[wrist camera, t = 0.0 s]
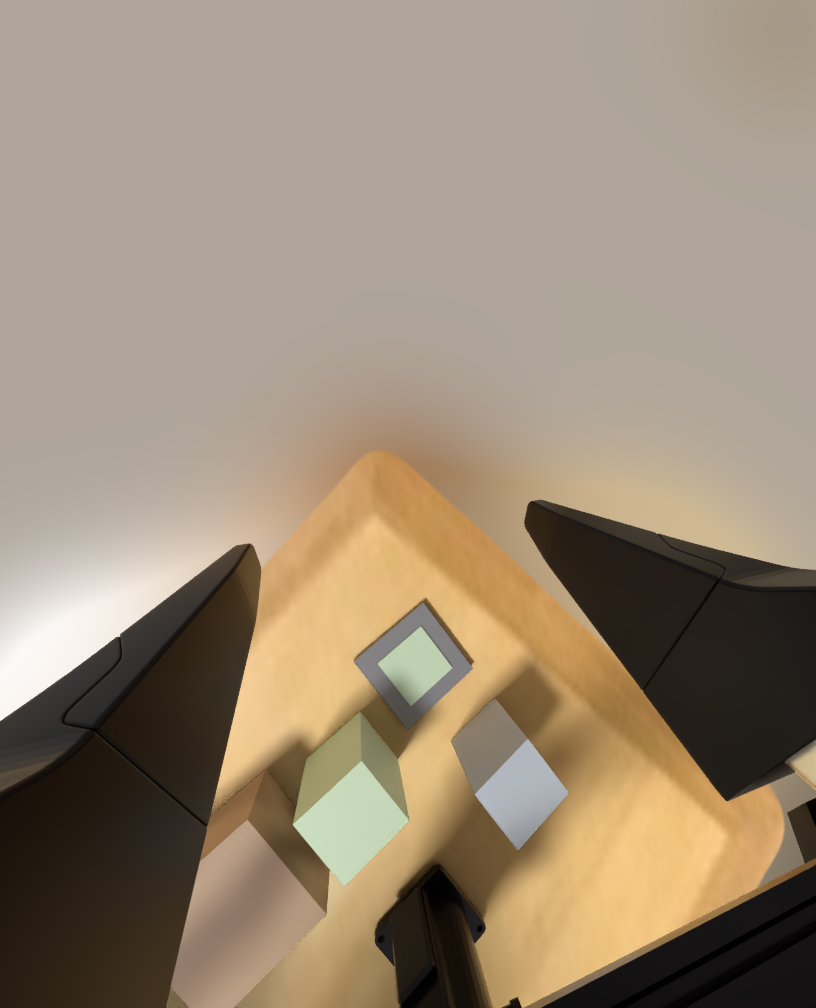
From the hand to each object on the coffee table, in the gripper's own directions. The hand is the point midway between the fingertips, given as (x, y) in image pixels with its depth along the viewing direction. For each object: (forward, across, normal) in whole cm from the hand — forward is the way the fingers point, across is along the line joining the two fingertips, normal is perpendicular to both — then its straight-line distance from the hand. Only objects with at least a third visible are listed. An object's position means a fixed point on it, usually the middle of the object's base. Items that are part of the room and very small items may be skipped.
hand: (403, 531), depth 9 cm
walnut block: (+1, +12, +27) cm, 29 cm away
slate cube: (+2, -7, +24) cm, 26 cm away
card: (+6, -2, +18) cm, 19 cm away
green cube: (+3, +4, +23) cm, 23 cm away
